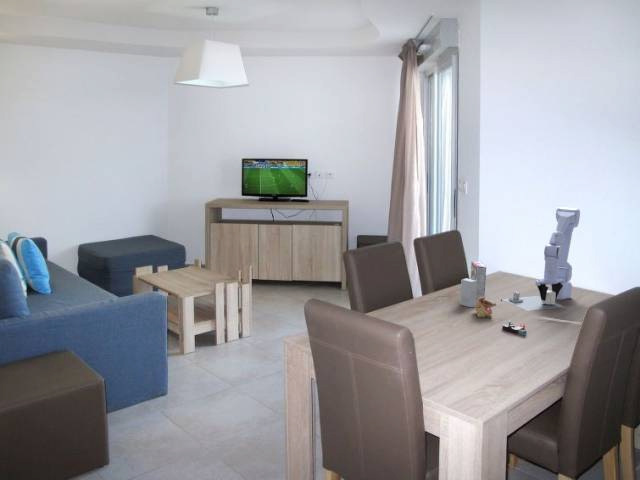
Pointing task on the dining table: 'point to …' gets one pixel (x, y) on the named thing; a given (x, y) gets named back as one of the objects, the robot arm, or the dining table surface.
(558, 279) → the robot arm
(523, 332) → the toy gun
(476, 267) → the candy bar box
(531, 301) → the board
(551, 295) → the knob
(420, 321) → the dining table surface
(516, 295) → the grey disc
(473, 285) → the skincare box
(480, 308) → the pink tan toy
